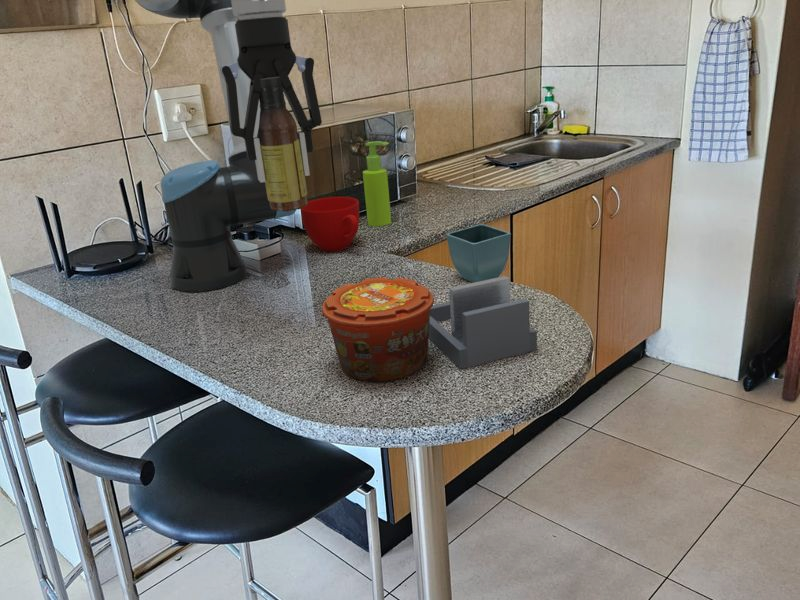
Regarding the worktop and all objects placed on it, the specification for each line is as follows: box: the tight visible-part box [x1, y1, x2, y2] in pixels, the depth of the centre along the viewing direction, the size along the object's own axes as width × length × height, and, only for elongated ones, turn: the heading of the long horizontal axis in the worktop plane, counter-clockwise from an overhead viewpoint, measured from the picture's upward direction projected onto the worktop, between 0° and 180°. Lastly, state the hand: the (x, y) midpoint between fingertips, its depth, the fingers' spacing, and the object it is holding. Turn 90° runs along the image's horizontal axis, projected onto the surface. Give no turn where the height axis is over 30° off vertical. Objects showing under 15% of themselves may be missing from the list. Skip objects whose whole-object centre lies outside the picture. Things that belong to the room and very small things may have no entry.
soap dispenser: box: [362, 140, 392, 227], centre depth 168 cm, size 6×7×20 cm
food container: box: [321, 276, 435, 384], centre depth 100 cm, size 16×16×11 cm
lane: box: [429, 298, 538, 370], centre depth 106 cm, size 18×12×8 cm
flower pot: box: [445, 223, 512, 283], centre depth 129 cm, size 9×9×9 cm
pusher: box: [448, 275, 511, 344], centre depth 103 cm, size 1×9×10 cm, turn 111°
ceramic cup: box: [300, 196, 360, 252], centre depth 153 cm, size 13×17×10 cm
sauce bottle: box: [257, 76, 309, 212], centre depth 106 cm, size 6×6×20 cm
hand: (283, 177), depth 107 cm, fingers closed on sauce bottle, 6 cm apart
